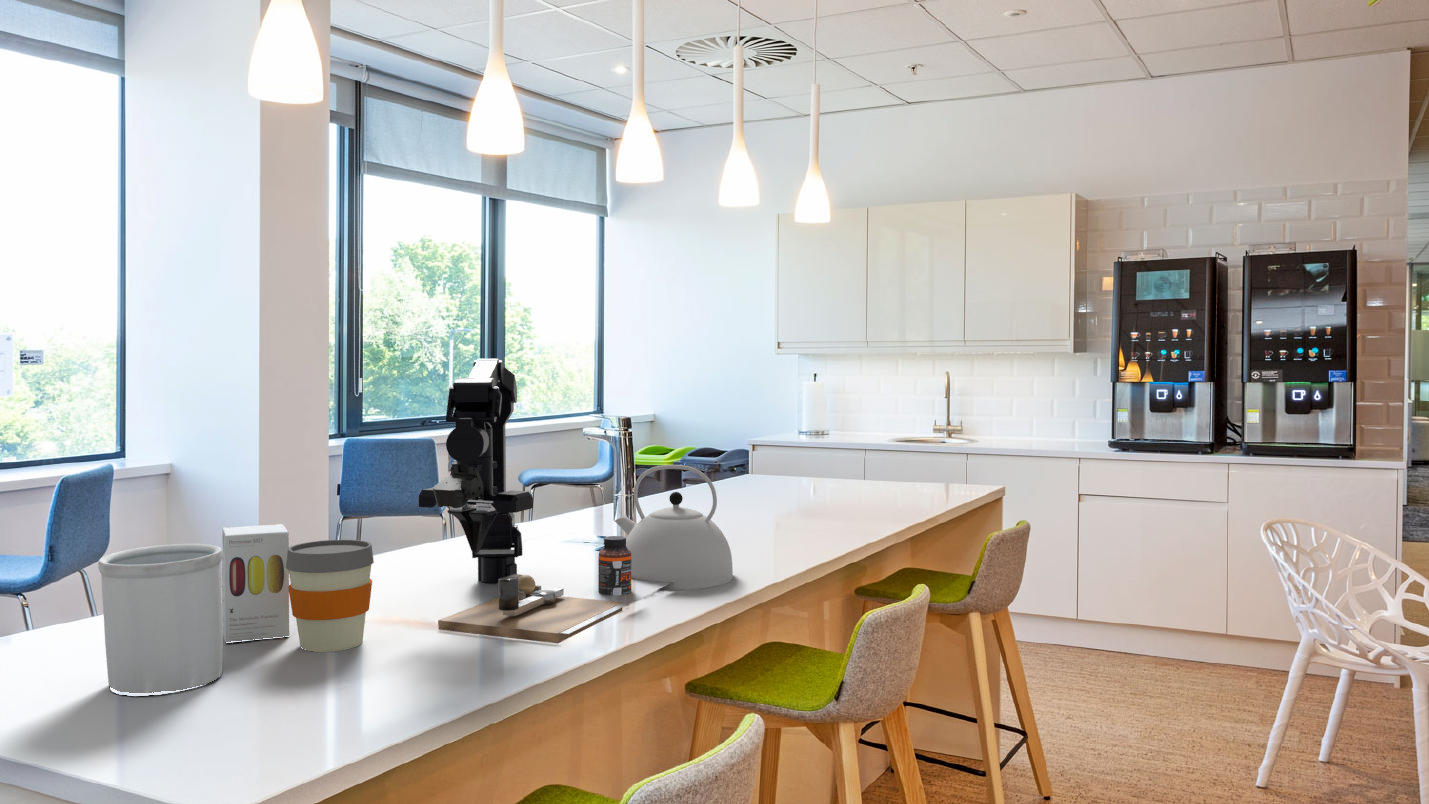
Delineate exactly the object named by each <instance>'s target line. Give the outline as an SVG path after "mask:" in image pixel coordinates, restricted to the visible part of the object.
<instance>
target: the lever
mask: <svg viewBox="0 0 1429 804" xmlns="http://www.w3.org/2000/svg"><path fill="white" fill-rule="evenodd" d="M497 586H498V587H497V589H498V591H497V594H498V597H497V598H498V601H499V610H503V615H507V616H516V615H519V614H521V613H523V612H526V611H528V610H530V609H533V608H535V607H538V606H540V605H547V604H553V603H555V602H556V598H558V597H561V596H563V597H564V595H565V594H564V593H565V592H564V587H551V588H549V589H546V590H545V589H543V590H542V589H541V590H540V591H535V592H532V596H531V597H528V598H526V599H523V600H521V601H519V581H518V578H517V577H502V578H499V579H498V584H497Z"/></svg>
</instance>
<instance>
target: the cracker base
mask: <svg viewBox="0 0 1429 804" xmlns="http://www.w3.org/2000/svg"><path fill="white" fill-rule="evenodd" d="M522 575H523V574H521V573H519V574H518V573H517V574H513V575H511V576H508V577H517V578H518V577H520V576H522ZM540 590H542V585H540V584H539V585H538V584H535V589H534V591H533V592H535V591H540ZM531 596H532V593H531V594H529V595H526V592H524V591H519V601H521V600H523V599H526V598H528V597H531ZM622 603H623V601H615V600H614V601H613V600H603V599H594V598H593V599H592V598H584V597H583V598H582V597H573V596H564V595H563V596H561V597H558V598H556V602H555V603H553V604H547V605H540V606H538V607H535V608H533V609H530V610H528V611H526V612H523V613H521V614H519V615H516V616H507V615H503V610H499V601H498V597H495V598H493V599H489V600H487V601H485V602H482V603H479V604H476V605H475V606H471V607H469V608H467V609H464V610H462V611H459V612H456V613H454V614H451V615H448V616H445V617H443V618H440V619H439V620H437V622H438V625H437V627H438V628H437V629H438V630H441V631H448V632H449V631H450V632H458V633H467V634H474V635H483V636H484V635H485V636H493V637H501V638H502V637H503V638H509V639H510V638H511V639H518V640H528V641H534V642H535V641H536V642H537V641H538V642H543V643H545V642H546V643H552V644H554V643H555V644H559V643H561V642H564V641H566V640H568V639H570V638H572V637H573V636H575V635H577V634H579V633H581V632H583V631H585V630H587V629H589V628H591V627H593V626H595V625H597V624H599V623H601V622H603V621H605V620H607V619H609V618H611V617H614V616H615V615H616V614H619V613H621V612H623V607H620V608H618V609H616V610H614V611H612V612H610V613H608V614H606V615H603V616H602V617H599V618H598V619H596V620H594V621H591V622H590V623H587V624H586V625H583V626H582V627H579V628H578V629H576V630H573V631H572V632H569V633H564V632H565V631H566V630H569V629H571V628H574V627H575V626H577V625H579V624H581V623H583V622H585V621H588V620H589V619H591V618H593V617H596V616H597V615H599V614H602V613H603V612H606V611H608V610H611V609H612V608H614V607H615V606H618V605H620V604H622ZM562 632H563V633H562Z"/></svg>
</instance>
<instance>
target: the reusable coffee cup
mask: <svg viewBox="0 0 1429 804" xmlns="http://www.w3.org/2000/svg"><path fill="white" fill-rule="evenodd" d="M374 560H375V559H374V552H373V545H372V543H371V542H369V541H366V540H360V539H359V540H358V539H329V540H328V539H326V540H318V541H317V540H316V541H309V542H304V543H303V542H302V543H299V544H294V545H291V546H290V547H289V548H288V553H287V563H286V568H287V569H288V570H289V587H288V588H289V602H290V605H291V606H290V607H291V612H292V614H291V615H292V617H294V618H295V619H296V626H297V633H298V640H299V645H300V646H301V647H302V648H303V649H306V650H309V651H308V652H310V651H314V652H313V653H331V652H332V653H333V652H340V651H345V650H350V649H353V648H356V647H359V646H361V645H362V644H363V642H364V641H363V639H364V631H365V624H366V622H365V621H366V614H367V612H368V611H369V610H370V605H371V604H370V603H371V597H372V596H371V595H372V589H373V588H372V586H373V579H371V570H372V565H373V564H374ZM301 647H300V648H301ZM303 649H302V650H303Z"/></svg>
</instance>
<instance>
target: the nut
mask: <svg viewBox="0 0 1429 804" xmlns="http://www.w3.org/2000/svg"><path fill="white" fill-rule="evenodd" d="M521 575H522V576H520V577H518V581H519V591H524V592H526V595H529V594H531V593H532V592H533V591H534V589H535V585H536V581H535V579H534V578H533V576H531V575H529V574H521Z"/></svg>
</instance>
